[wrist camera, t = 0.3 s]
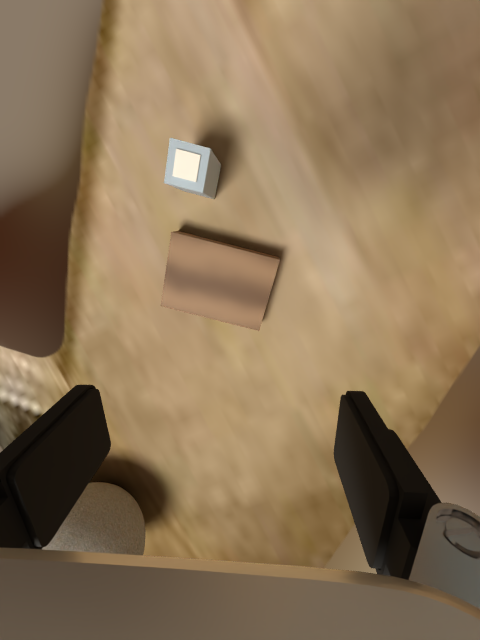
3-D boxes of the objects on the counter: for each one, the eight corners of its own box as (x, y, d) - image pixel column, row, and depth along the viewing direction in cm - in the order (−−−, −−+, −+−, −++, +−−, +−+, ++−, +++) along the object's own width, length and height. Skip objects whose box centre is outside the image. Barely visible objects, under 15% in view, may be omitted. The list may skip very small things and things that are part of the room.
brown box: (178, 231, 36) (171, 231, 34) (278, 256, 37) (279, 259, 34) (167, 300, 40) (160, 306, 37) (259, 323, 40) (259, 330, 37)
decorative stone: (180, 498, 54) (139, 645, 35) (123, 540, 60) (61, 685, 41) (100, 440, 50) (5, 570, 32) (46, 490, 56) (-60, 626, 37)
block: (189, 156, 33) (169, 137, 26) (221, 164, 33) (210, 147, 26) (184, 191, 35) (163, 182, 27) (214, 199, 35) (202, 192, 27)
